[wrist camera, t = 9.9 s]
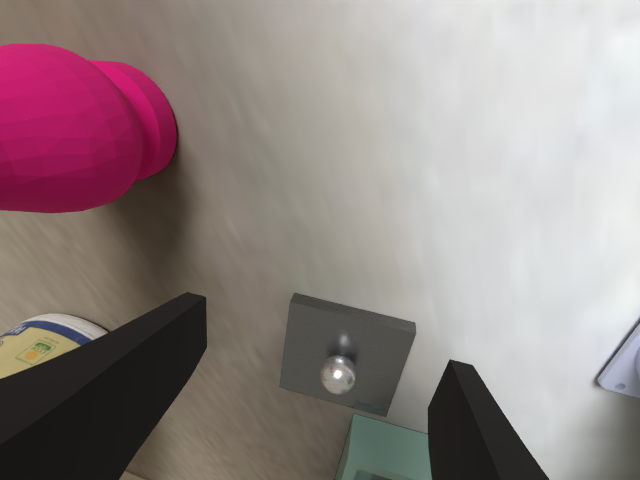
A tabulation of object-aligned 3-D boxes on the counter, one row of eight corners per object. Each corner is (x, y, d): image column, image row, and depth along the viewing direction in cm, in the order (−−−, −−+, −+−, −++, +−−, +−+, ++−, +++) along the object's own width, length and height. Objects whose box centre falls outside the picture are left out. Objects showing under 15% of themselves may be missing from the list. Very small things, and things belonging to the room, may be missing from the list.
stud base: (415, 322, 21) (418, 360, 18) (386, 405, 25) (384, 446, 22) (294, 293, 22) (279, 324, 19) (283, 376, 26) (269, 412, 23)
